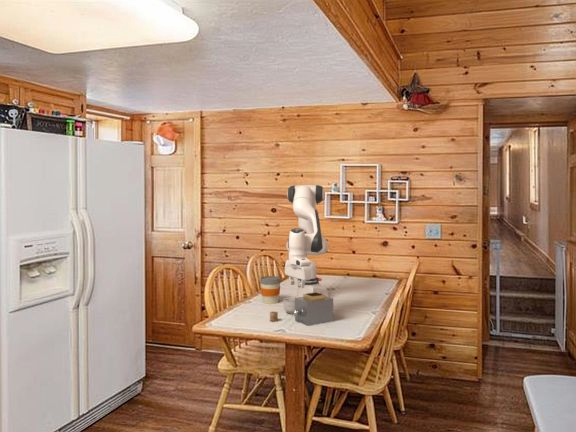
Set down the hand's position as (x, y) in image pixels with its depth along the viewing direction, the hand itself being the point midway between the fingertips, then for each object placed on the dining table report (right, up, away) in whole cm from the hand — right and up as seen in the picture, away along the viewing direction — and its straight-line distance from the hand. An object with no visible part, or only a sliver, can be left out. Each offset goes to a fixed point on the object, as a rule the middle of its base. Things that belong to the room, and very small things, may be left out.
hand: (297, 286), depth 270 cm
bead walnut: (-12, -19, +2) cm, 22 cm away
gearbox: (+8, -18, 0) cm, 20 cm away
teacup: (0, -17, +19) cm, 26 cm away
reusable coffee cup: (-15, -16, +43) cm, 48 cm away
